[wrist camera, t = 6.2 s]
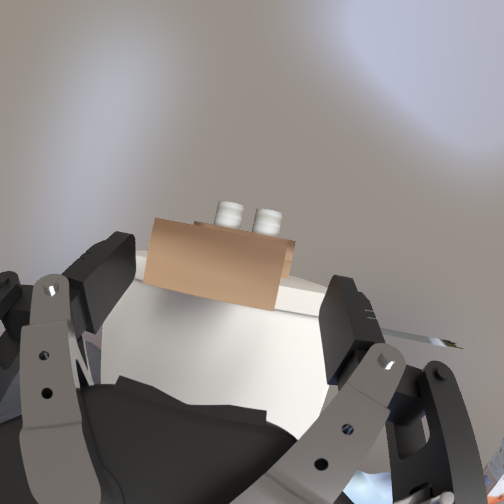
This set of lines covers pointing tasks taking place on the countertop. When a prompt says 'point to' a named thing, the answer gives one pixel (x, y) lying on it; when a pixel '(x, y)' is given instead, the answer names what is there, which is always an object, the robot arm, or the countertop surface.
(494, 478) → the cracker box
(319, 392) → the cabinet
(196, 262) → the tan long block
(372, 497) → the countertop surface
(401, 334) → the countertop surface
